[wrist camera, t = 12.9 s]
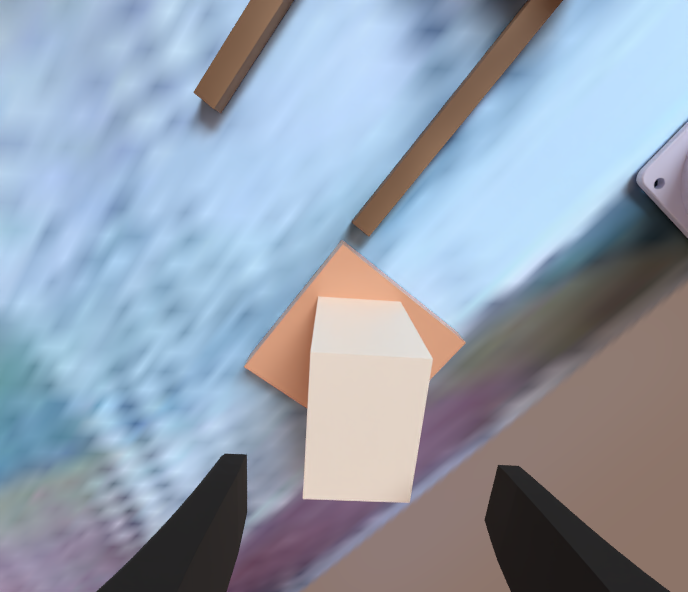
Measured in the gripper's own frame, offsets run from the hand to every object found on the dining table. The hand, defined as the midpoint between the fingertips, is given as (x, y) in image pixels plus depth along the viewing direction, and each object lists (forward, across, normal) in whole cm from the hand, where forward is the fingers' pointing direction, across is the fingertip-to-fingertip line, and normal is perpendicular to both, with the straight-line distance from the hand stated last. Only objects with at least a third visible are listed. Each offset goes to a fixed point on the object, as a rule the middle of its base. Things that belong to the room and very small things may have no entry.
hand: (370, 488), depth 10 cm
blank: (+8, 0, 0) cm, 8 cm away
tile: (+10, 0, 0) cm, 10 cm away
